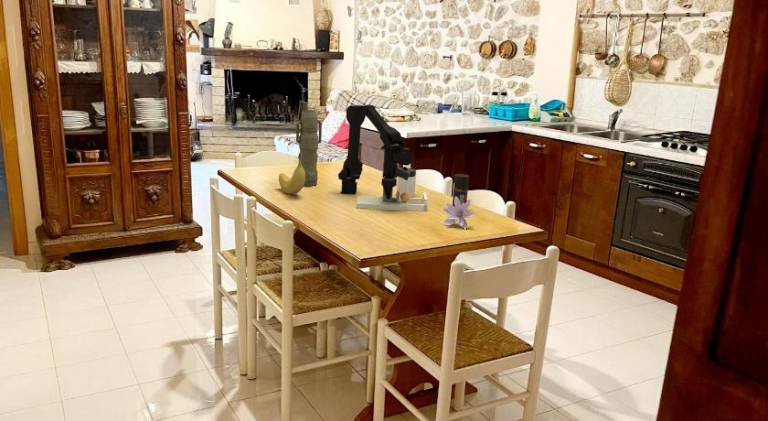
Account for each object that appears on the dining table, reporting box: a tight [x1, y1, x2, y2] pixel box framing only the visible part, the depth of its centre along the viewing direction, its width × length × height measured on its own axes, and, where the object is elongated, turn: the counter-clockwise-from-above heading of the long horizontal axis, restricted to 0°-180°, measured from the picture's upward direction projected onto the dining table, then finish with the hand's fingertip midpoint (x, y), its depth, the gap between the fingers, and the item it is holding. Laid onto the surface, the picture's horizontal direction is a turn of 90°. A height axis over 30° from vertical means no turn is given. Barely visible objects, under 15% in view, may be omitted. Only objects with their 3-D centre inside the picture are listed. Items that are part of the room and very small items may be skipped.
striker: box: [382, 187, 400, 203], centre depth 260 cm, size 7×7×6 cm
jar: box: [396, 167, 417, 198], centre depth 279 cm, size 9×8×12 cm
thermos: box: [295, 109, 323, 188], centre depth 286 cm, size 9×12×35 cm
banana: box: [278, 152, 305, 195], centre depth 270 cm, size 23×6×20 cm, turn 32°
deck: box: [356, 195, 408, 212], centre depth 261 cm, size 21×14×2 cm, turn 90°
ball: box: [400, 193, 411, 202], centre depth 260 cm, size 4×4×4 cm
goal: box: [407, 192, 429, 212], centre depth 261 cm, size 8×12×5 cm
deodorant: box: [451, 173, 470, 208], centre depth 257 cm, size 6×6×15 cm
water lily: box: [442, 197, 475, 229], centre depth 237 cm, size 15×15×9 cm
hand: (388, 197), depth 260 cm, fingers open, 4 cm apart
